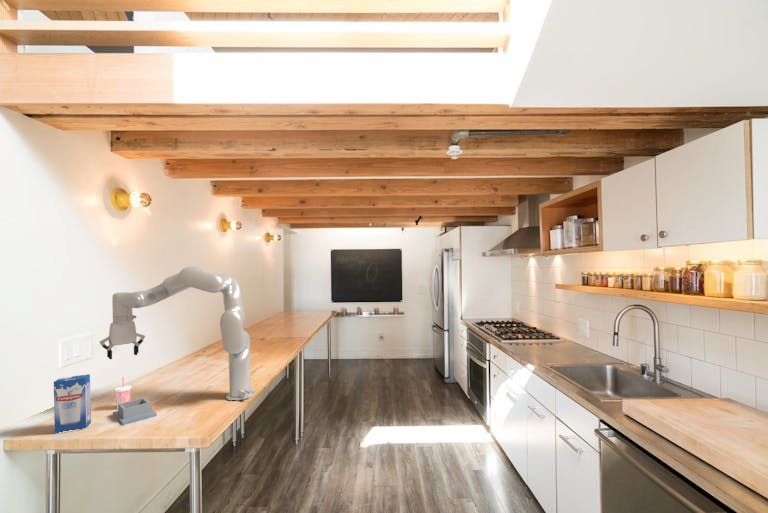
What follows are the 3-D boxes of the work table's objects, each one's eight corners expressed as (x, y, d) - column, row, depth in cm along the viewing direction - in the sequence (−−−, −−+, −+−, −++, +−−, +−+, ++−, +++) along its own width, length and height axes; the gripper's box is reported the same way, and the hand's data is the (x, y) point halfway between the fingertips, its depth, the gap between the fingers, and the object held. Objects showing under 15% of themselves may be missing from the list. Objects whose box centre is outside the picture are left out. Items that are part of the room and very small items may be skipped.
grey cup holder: (156, 415, 160) (156, 403, 160) (122, 425, 151) (122, 412, 151) (145, 405, 172) (144, 394, 172) (113, 414, 163) (112, 402, 164)
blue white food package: (54, 434, 145) (53, 382, 146) (60, 428, 151) (59, 377, 151) (86, 428, 149) (85, 377, 150) (91, 422, 155) (90, 374, 155)
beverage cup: (122, 405, 174) (121, 374, 175) (134, 404, 174) (134, 374, 174) (112, 410, 168) (111, 378, 169) (125, 409, 168) (124, 378, 168)
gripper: (142, 316, 181) (142, 352, 181) (97, 321, 169) (98, 359, 169) (146, 317, 176) (147, 354, 176) (100, 322, 164) (101, 361, 163)
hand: (123, 356), depth 172 cm, fingers open, 9 cm apart
